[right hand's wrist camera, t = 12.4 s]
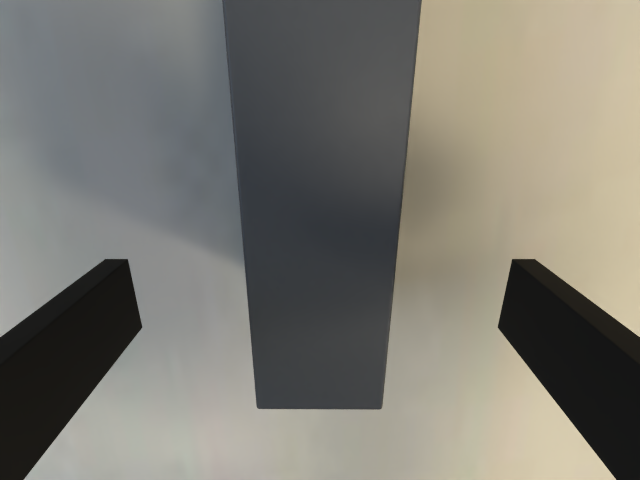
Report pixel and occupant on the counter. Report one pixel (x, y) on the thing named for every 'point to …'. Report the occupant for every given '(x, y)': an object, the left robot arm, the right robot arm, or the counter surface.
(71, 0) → the counter surface
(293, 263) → the beam
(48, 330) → the right robot arm
